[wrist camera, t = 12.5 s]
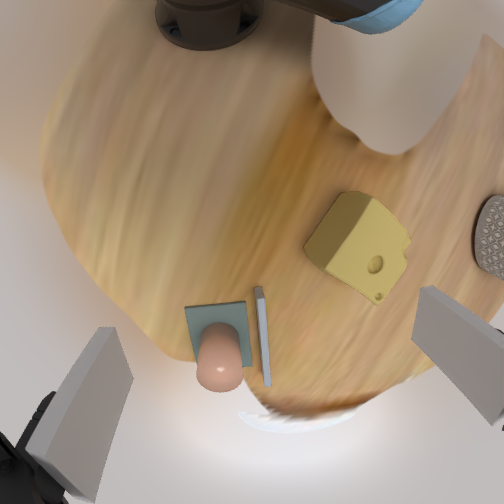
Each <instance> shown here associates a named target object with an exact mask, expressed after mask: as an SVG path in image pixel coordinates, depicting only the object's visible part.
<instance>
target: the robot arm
mask: <svg viewBox="0 0 504 504" xmlns="http://www.w3.org/2000/svg"><path fill="white" fill-rule="evenodd" d="M273 1H277V2H280V3H284V4H287V5H290V6H293V7H296V8H299V9H302V10H305V11H307V12H310V13H313V14H316V15H318V16H321V17H324V18H326V19H328V20H330V22H332V23H335V24H340V25H344V26H347V27H349V28H352V29H354V30H356V31H359V32H361V33H364V34H370V35H371V34H378V33H379V34H380V33H384V32H387V31H390V30H392V29H394V28H395V27H397V26H398V25H400V24H401V23H403V22H404V21H405V20H406V19H408V18H409V17H410V16H411V15H412V14H413V13H414V12H415V11H416V10H417V9H418V7H419V6H420V5H421V3H422V2H423V0H273ZM262 10H263V0H157V4H156V9H155V16H156V21H157V24H158V26H159V28H160V30H161V32H162V33H163V35H164V36H165V37H166V38H167V39H168V40H169V41H171V42H172V43H174V44H176V45H178V46H180V47H183V48H187V49H192V50H216V49H221V48H225V47H228V46H231V45H233V44H236V43H238V42H240V41H241V40H243V39H245V38H246V37H247V36H249V35H250V34H251V33H252V32H253V31H254V29H255V28H256V27H257V25H258V23H259V21H260V18H261V14H262ZM411 340H412V341H413V342H414V343H415V344H416V345H417V346H418V347H419V348H420V349H421V350H422V351H423V352H424V353H425V354H426V355H427V356H428V357H429V358H430V359H431V360H432V361H433V362H434V363H435V364H436V365H437V366H438V367H439V368H440V369H441V370H442V372H443V373H444V374H445V375H446V376H447V377H448V378H449V379H450V380H451V381H452V382H453V383H454V384H455V385H456V387H457V388H458V389H459V390H460V391H461V392H462V393H463V394H464V395H465V396H466V397H467V399H468V400H469V401H470V402H471V403H472V404H473V405H474V406H475V408H477V410H478V411H479V412H480V413H481V414H482V415H483V417H484V418H485V419H486V420H487V421H488V422H489V424H490V425H491V426H493V425H494V424H495V423H497V422H498V421H500V419H502V418H503V417H504V333H503V332H502V331H501V330H499V329H496V328H494V327H493V326H491V325H490V324H489V323H487V322H486V321H484V320H483V319H482V318H480V317H479V316H477V315H476V314H474V313H473V312H472V311H470V310H469V309H467V308H466V307H464V306H463V305H461V304H460V303H458V302H457V301H455V300H454V299H452V298H451V297H449V296H448V295H446V294H445V293H443V292H442V291H440V290H439V289H437V288H436V287H434V286H433V285H432V286H427V287H423V288H420V294H419V300H418V306H417V312H416V318H415V323H414V328H413V333H412V337H411ZM133 379H134V378H133V376H132V373H131V371H130V368H129V365H128V363H127V360H126V357H125V355H124V352H123V349H122V346H121V343H120V341H119V338H118V335H117V332H116V329H115V327H99V328H98V330H97V331H96V332H95V334H94V335H93V337H92V338H91V340H90V341H89V343H88V344H87V346H86V347H85V349H84V350H83V352H82V353H81V355H80V356H79V358H78V359H77V361H76V362H75V364H74V365H73V367H72V368H71V370H70V372H69V373H68V375H67V376H66V378H65V379H64V381H63V383H62V384H61V386H60V387H59V389H58V391H57V392H55V391H52V392H51V393H50V394H49V395H47V396H46V397H45V398H44V399H43V400H42V402H41V403H40V405H39V406H38V408H37V412H35V413H34V415H33V416H32V420H30V422H29V423H28V425H27V427H26V429H25V430H24V432H23V434H22V436H21V438H20V439H19V441H18V443H17V445H16V447H15V448H14V447H13V445H12V444H11V443H10V442H9V441H8V439H7V438H6V437H5V436H4V435H3V433H1V432H0V504H69V503H68V501H67V500H66V499H65V497H64V496H63V495H64V492H65V490H66V491H67V492H68V493H69V494H71V495H72V496H73V497H74V498H76V499H79V500H83V501H86V502H90V503H95V499H96V495H97V492H98V488H99V484H100V480H101V477H102V473H103V469H104V466H105V463H106V460H107V456H108V453H109V450H110V447H111V443H112V440H113V437H114V434H115V431H116V427H117V425H118V421H119V419H120V415H121V413H122V410H123V407H124V404H125V401H126V398H127V395H128V393H129V390H130V387H131V384H132V382H133ZM502 431H504V425H503V428H502Z"/></svg>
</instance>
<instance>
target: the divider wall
mask: <svg viewBox="0 0 504 504" xmlns="http://www.w3.org/2000/svg"><path fill="white" fill-rule="evenodd" d="M254 289H255V300H256V311H257V323H258V334H259V345H260V356H261V367H262V375H263V380H264V385H265V387H268V386H271V378H270V363H269V349H268V334H267V320H266V307H265V297H264V294H263V291H262V287H254Z"/></svg>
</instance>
